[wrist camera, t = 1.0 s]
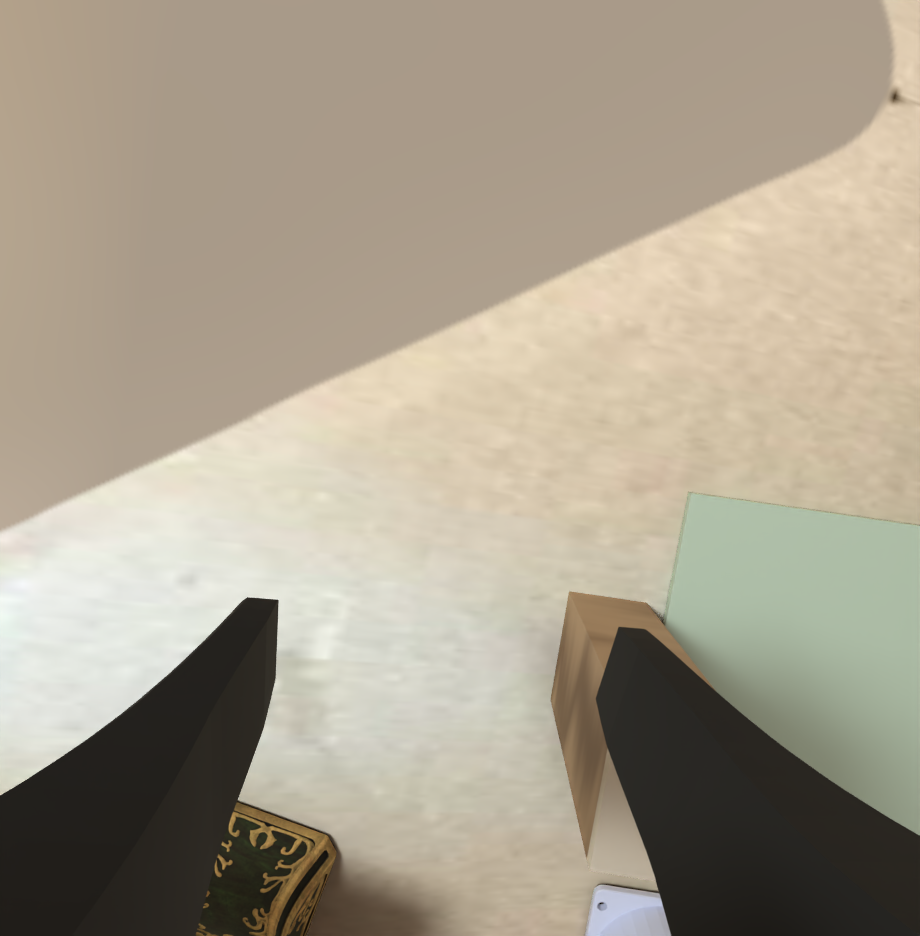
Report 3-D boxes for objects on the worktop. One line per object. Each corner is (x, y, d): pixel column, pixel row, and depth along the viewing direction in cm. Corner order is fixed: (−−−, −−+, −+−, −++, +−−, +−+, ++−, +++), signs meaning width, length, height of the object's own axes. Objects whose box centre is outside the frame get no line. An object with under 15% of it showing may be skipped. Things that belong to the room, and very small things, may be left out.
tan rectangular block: (625, 710, 30) (707, 889, 19) (550, 699, 30) (589, 871, 19) (646, 602, 29) (743, 725, 19) (569, 591, 30) (620, 707, 19)
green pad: (922, 862, 31) (927, 868, 30) (624, 816, 31) (626, 822, 31) (1011, 538, 28) (1018, 540, 28) (688, 491, 29) (691, 493, 28)
